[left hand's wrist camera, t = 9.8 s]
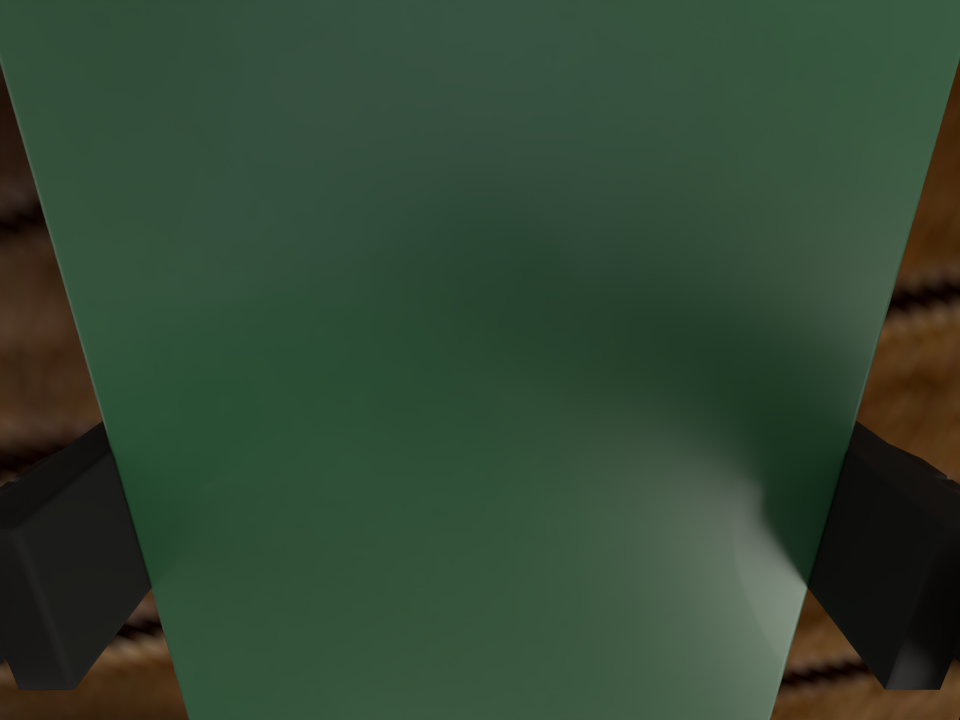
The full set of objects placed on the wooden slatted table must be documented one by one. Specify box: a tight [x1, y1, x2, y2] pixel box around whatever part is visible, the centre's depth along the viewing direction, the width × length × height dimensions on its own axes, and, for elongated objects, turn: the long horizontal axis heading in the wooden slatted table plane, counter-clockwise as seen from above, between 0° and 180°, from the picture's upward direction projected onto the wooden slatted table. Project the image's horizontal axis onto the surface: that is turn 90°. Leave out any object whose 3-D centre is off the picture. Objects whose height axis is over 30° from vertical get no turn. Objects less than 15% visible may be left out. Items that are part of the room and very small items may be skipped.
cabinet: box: [0, 0, 960, 720], centre depth 12 cm, size 21×11×11 cm, turn 0°
